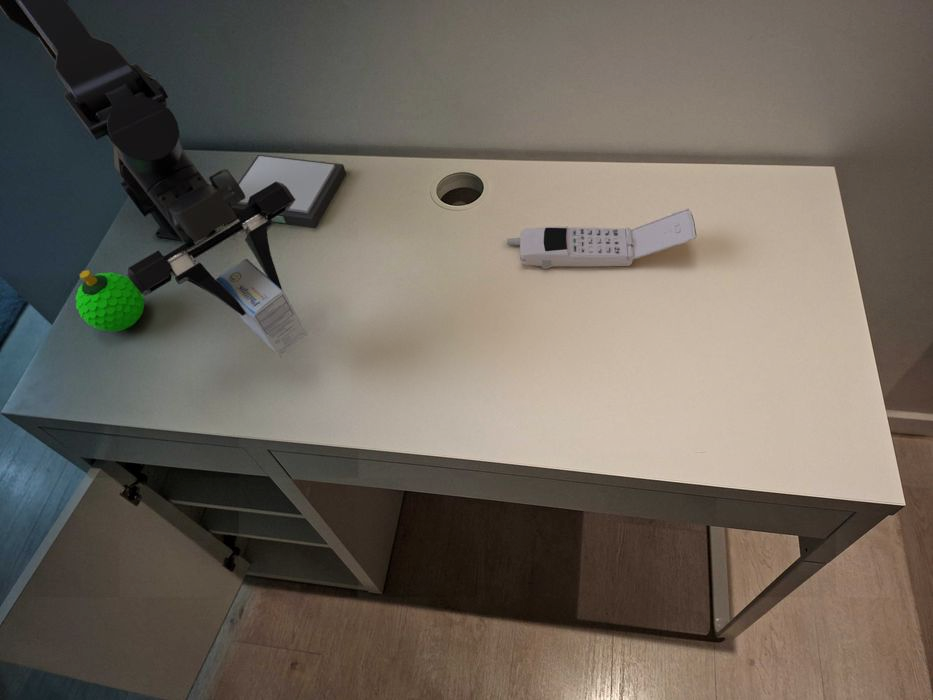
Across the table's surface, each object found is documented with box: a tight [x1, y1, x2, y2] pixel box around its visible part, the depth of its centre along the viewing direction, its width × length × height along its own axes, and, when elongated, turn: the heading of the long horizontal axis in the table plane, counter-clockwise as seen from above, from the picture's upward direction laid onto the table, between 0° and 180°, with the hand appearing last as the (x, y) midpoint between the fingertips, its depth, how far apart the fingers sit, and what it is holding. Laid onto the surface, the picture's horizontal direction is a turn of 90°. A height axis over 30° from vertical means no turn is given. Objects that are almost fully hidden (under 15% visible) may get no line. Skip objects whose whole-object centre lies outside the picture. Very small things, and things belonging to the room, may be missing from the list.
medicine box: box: [215, 258, 308, 357], centre depth 70 cm, size 8×4×9 cm, turn 46°
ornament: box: [75, 269, 145, 333], centre depth 82 cm, size 8×8×10 cm
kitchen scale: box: [231, 154, 347, 229], centre depth 97 cm, size 16×13×3 cm
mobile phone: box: [506, 208, 697, 269], centre depth 82 cm, size 6×6×25 cm
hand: (262, 302), depth 67 cm, fingers closed on medicine box, 4 cm apart
